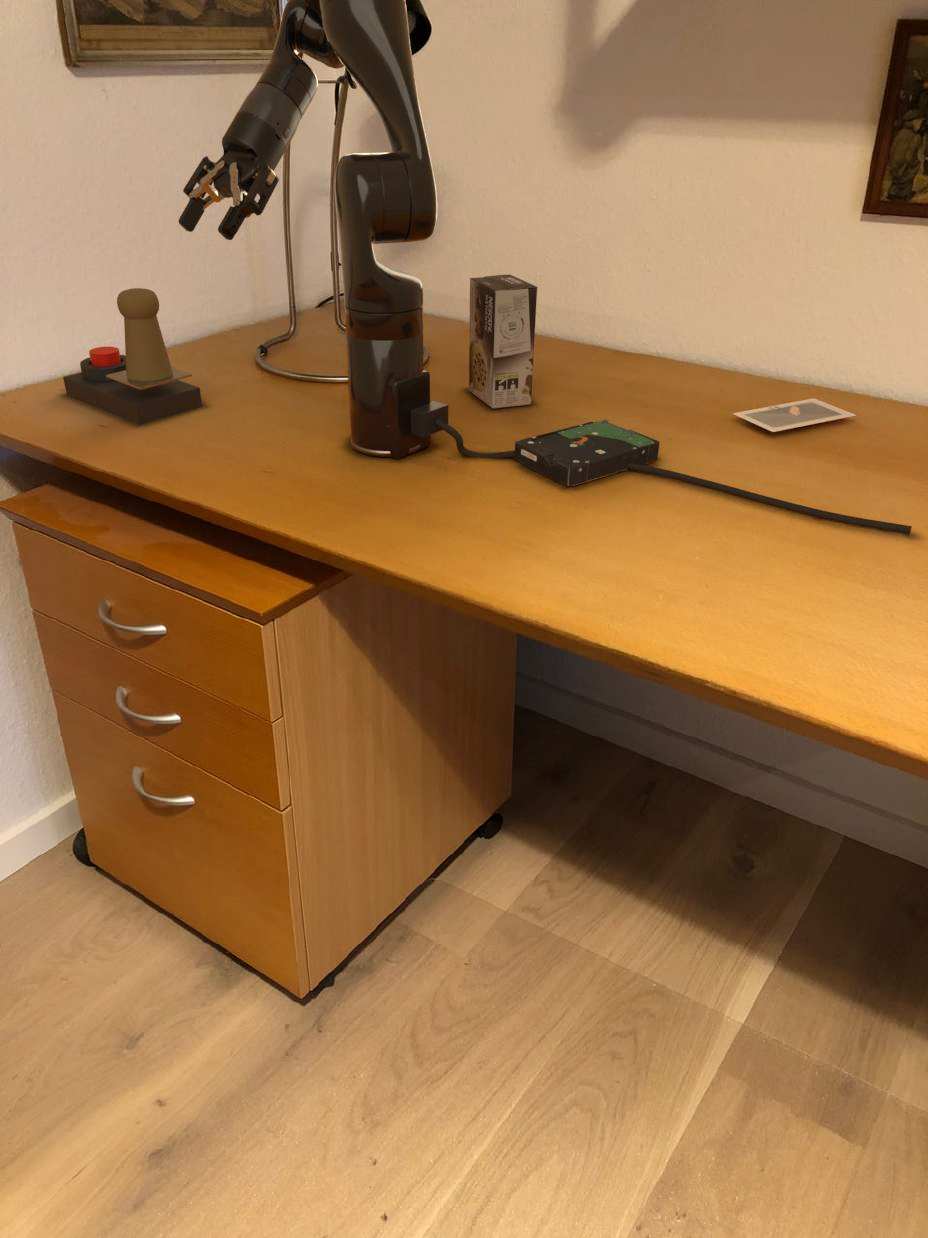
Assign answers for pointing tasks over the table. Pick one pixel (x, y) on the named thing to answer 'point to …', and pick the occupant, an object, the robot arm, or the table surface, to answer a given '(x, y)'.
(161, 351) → the olive pawn piece
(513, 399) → the coffee box
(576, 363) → the table surface
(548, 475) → the disk drive
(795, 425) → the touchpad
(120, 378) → the plate
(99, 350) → the button
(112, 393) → the machine
